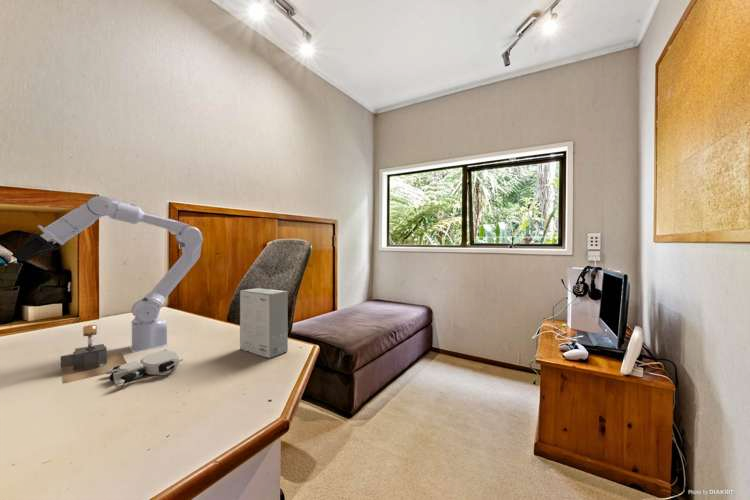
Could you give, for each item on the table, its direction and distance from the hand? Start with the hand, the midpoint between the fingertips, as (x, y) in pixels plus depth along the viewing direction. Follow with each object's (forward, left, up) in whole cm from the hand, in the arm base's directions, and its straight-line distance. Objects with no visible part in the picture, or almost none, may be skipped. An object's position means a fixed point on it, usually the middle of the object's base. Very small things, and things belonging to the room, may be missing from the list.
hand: (18, 258), depth 82 cm
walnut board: (-14, +10, -31) cm, 35 cm away
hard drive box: (-54, +30, -31) cm, 69 cm away
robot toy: (-23, +26, -31) cm, 47 cm away
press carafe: (-12, +9, -30) cm, 34 cm away
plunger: (-13, +9, -26) cm, 31 cm away
